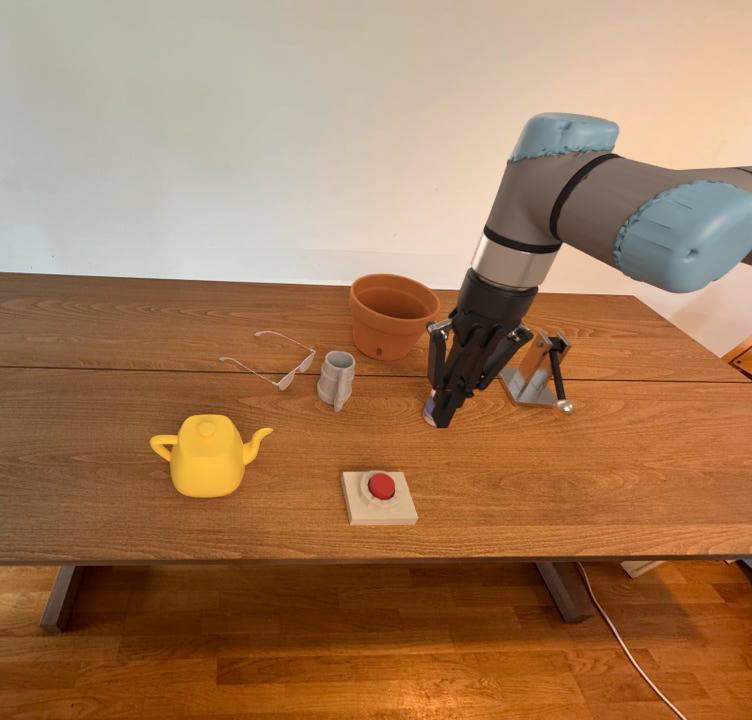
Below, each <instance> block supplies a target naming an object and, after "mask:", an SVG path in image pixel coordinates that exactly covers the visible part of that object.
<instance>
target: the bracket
mask: <svg viewBox="0 0 752 720" xmlns="http://www.w3.org/2000/svg"><path fill="white" fill-rule="evenodd" d="M548 337H549V336H548V335H547V334H546V333H545V332H544V331H540V330H539V331H538V332H537V334H536V336H535V337H534V340H533V342H531V345H530V346H529V348H528V350H527V352H526V354H525V355H524V357H523V359H522V360H521V363H520V364H519V366H518V367H506V366H505V367H504V368H503V369H502V370H501V371H500V373H499V374H498V375H497V376H496V378H498V380H499V382H500V384H501V386H502V388H503V390H504V391H505V393H506V395H507V396H508V398H509V401H510V402H511V404H512V406H513V407H525V408H536V409H548V410H549V409H551V410H553V405H554V403H555V402H556V401H558V399H557V396H556V395H555V394H554V392H553V391H552V390H551V388H550V387H549V385H548V384H549V382H550V381H551V379H552V378H553V373H552V367H551V362H550V357H549V353H548V351H549V350H550V348H551V346H552V345H553V343H552V342H551V341H550V339H549V338H548ZM555 337H559V341H560V346H561V349H560V350H559V351H557V355H558V361H559V366H561V364H562V362H563V361H564V360H565V358H566V356H567V354H568V353H569V351H570V350H571V348H572V347H573V344H572V343H571V342H570V341H569V340H568V338H567V337H566V336H565V334H563V332H557V333H556V335H555Z"/></svg>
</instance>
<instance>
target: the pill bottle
mask: <svg viewBox="0 0 752 720" xmlns="http://www.w3.org/2000/svg"><path fill="white" fill-rule="evenodd" d="M435 392H436V391H434V390H433V388H431V391H430V394H429V396H428V399H427V401H426V404H425V406H424V409H423V410H422V418H423V419H424V421H425V422H426V423H427V424H429V425H430V426H433V427H436V424H435V422H434V420H433V418H432V416H431V413H432V411H433V408H434V406H435V405H434V403H433V397H434V394H435Z"/></svg>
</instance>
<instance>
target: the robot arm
mask: <svg viewBox="0 0 752 720" xmlns="http://www.w3.org/2000/svg"><path fill="white" fill-rule="evenodd" d="M619 135H620V126H619V125H618V123H617V122H615V121H612V120H609V119H606V118H602V117H598V116H593V115H586V114H578V113H571V112H556V111H550V112H549V111H548V112H547V111H546V112H540V113H537V114H534V115H533V116H531V117H530V118H529V119H528V120H527V121H526V122H525V124H524V125H523V127H522V130H521V132H520V134H519V136H518V139H517V141H516V143H515V145H514V147H513V149H512V152H511V154H510V156H509V158H507V161H506V166H505V169H504V172H503V175H502V178H501V181H500V184H499V187H498V190H497V192H496V195H495V197H494V200H493V204H492V205H491V208H490V211H489V214H488V217H487V219H486V222H485V224H484V226H483V230H482V231H481V235H480V237H479V240H478V242H477V245H476V247H475V250H474V253H473V255H472V258H471V261H470V267H469V268H467V270H466V273H465V275H464V278H463V281H462V283H461V286H460V288H459V290H458V294H457V301H456V304H455V306H454V307H453V308H452V309H451V310H450V311H449V313H448V315H447V318H445V319H443V320H441V321H439V322H437V323H436V322H435V321H429V322H428V323H427V324H426V329H427V330H426V331H427V333H428V336H429V338H428V339H429V341H428V353H427V354H428V355H427V369H426V379H427V380H428V382H429V384H430V386H431V389H433V390H434V391H436V392H435V394H434V397H433V403H434V405H435V406H434V408H433V411H432V413H431V416H432V418H433V420H434V422H435V424H436V426H435V427H436V429H448V428H449V426H450V424H451V421H452V420H453V417H454V416H455V414H456V412H457V409H461V408H462V407H463V406H464V404H465V401H466V399H472V398H474V397H475V393H474V391H475V390H478V391H480V392H483V391H485V390H487V389H488V388H489V386H490V385H491V384H492V382H494V380H495V379H496V378H497V375H498V374H499V373H500V371H501V370H502V369H503V368H504V367H506V366H507V364H508V363H509V362H510V361H511V360H512V358H513V357H514V356H515V355H516V353H517V352H518V351H519V350H520V349H521V348H523V346H525V345H526V344H528V343H529V342H530V341H532V340H533V339H534V338H535V335H534V333H533V332H532V331H531V330H530V328H528V326H526V325H525V323H524V322H522V321H523V318H524V317H526V315H527V314H528V312H529V310H530V308H531V306H532V304H533V303H534V300H535V299H536V296H537V295H538V293H539V290H540V289H539V288H540V287H539V286H541V285H542V284H543V283H544V282H545V281H546V278H547V276H548V274H549V272H550V270H551V267H552V266H553V264H554V262H555V260H556V259H557V255H558V254H559V251H560V250H561V248H562V246H563V244H566V245H567V246H570V247H571V248H574V249H576V250H578V251H580V252H582V253H584V254H585V255H588V256H589V257H591V258H594V259H596V260H597V261H599V262H601V263H604V264H605V265H607V266H609V267H611V268H613V269H615V270H617V271H619V272H620V273H622V275H624V276H625V277H627V278H630V279H631V280H633V281H636V282H640V283H644V284H647V285H650V286H652V287H654V288H657V289H659V290H662V291H665V292H667V293H671V294H678V295H679V294H680V295H681V294H682V295H683V294H690V293H694V292H697V291H700V290H702V289H704V288H705V287H707V286H708V285H710V283H713V282H716V281H718V280H720V279H722V278H723V277H725V276H726V275H727V274H728V273H730V271H732V270H733V269H734V268H735V267H737V266H738V265H739V264H740V263H741V264H745V265H748V266H750V267H752V165H742V166H727V167H708V168H707V167H706V168H689V169H673V168H667V167H663V166H658V165H654V164H651V163H646V162H643V161H638V160H634V159H631V158H627V157H624V156H622V155H619V154H618V153H614V152H613V151H614V150H615V147H616V142H617V140H618V137H619ZM451 330H452V333H453V335H452V344H451V347H450V350H449V352H448V355H446V354H447V341H448V340H450V338H449V336H450V332H451ZM446 356H447V357H446Z"/></svg>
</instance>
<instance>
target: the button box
mask: <svg viewBox="0 0 752 720" xmlns="http://www.w3.org/2000/svg"><path fill="white" fill-rule="evenodd" d="M377 473H384V474H387V475H388V476H390V477H391V478H392V479H393V480H394V483H395V489H394V492H393V494H392V496H391V497H390V498H388V499H378V498H376V497H375V496H373V495H372V493H371V492H370V490H369V484H370V481H371V478H372V476H373V475H375V474H377ZM340 483H341V487H342V493H343V497H344V503H345V508H346V512H347V518H348V522H349V523H348V524H349V526H415V525H416V523H417V521H418V520H419V515H418V513H417V510H416V506H415V504H414V501H413V498H412V494H411V491H410V489H409V486H408V483H407V480H406V477H405V474H404V471H384V470H369V471H342V473H341V477H340Z"/></svg>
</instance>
